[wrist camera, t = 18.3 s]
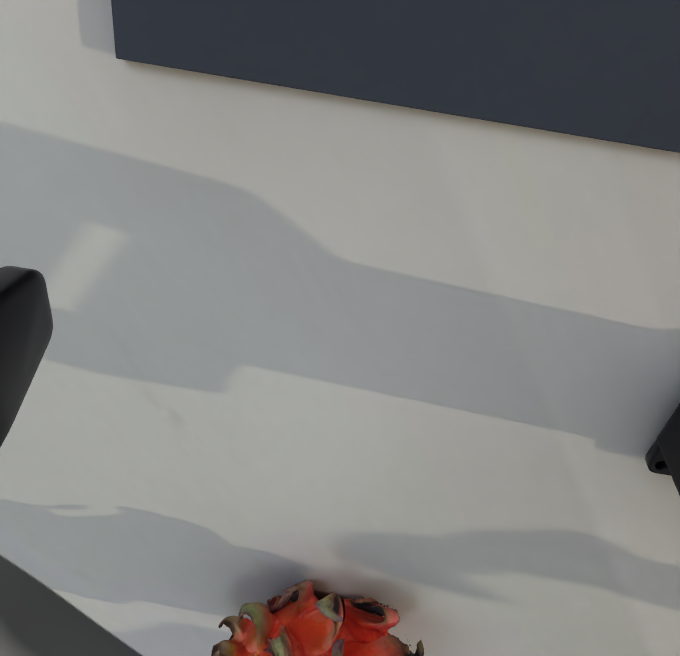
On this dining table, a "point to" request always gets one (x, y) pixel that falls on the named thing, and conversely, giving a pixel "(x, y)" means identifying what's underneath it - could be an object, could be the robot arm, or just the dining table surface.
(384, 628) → the dragon fruit
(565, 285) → the dining table surface
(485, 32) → the desk mat
